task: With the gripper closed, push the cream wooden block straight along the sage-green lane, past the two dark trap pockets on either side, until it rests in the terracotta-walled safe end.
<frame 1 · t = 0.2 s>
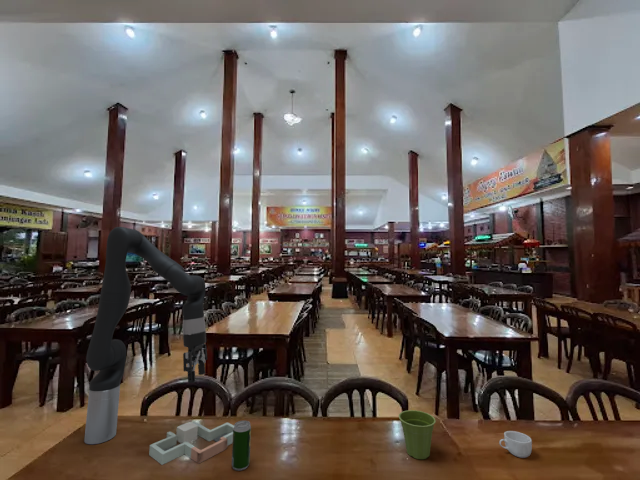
hand: (197, 378, 107), 22 cm above the table, tool pointing down, fingers open, 8 cm apart
cream block: (186, 439, 107), on the table
teacup: (515, 454, 101), on the table
beer can: (240, 466, 93), on the table
plant pot: (417, 454, 101), on the table
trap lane: (196, 445, 104), on the table
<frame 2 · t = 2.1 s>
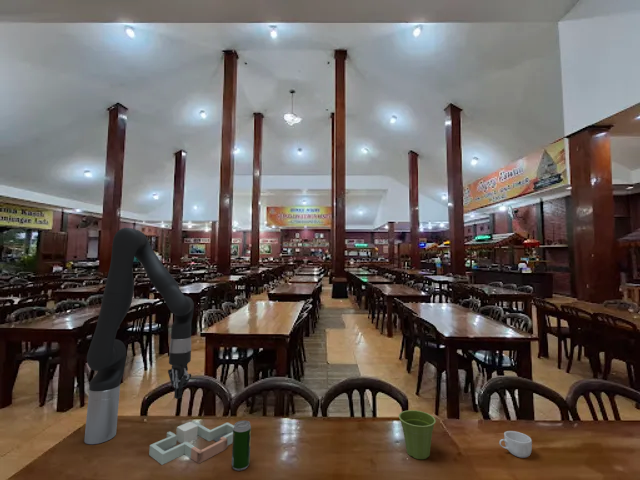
hand: (178, 397, 113), 12 cm above the table, tool pointing down, fingers closed
nothing on the table moved.
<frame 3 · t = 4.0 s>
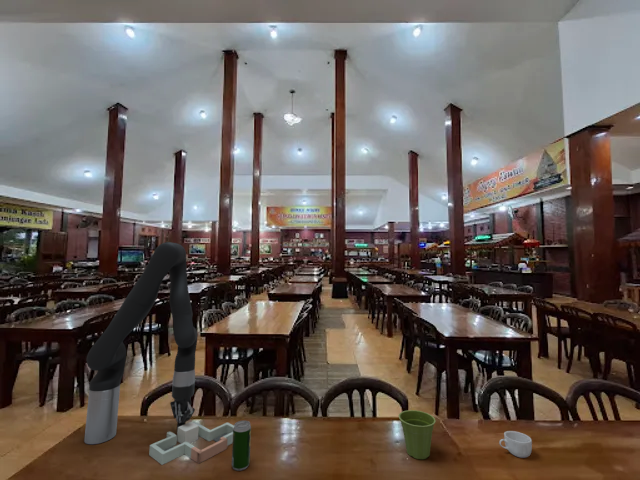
hand: (180, 432, 110), 1 cm above the table, tool pointing down, fingers closed
cream block: (187, 440, 107), on the table, touching gripper
everything else where it was.
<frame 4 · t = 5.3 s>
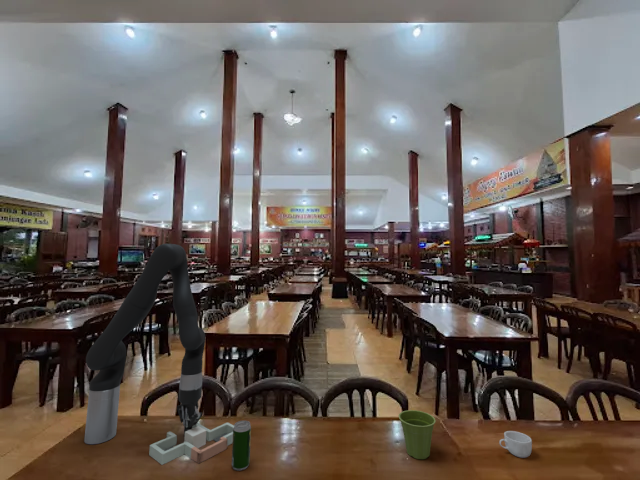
hand: (187, 436, 107), 1 cm above the table, tool pointing down, fingers closed
cream block: (194, 445, 104), on the table, touching gripper
everything else where it was.
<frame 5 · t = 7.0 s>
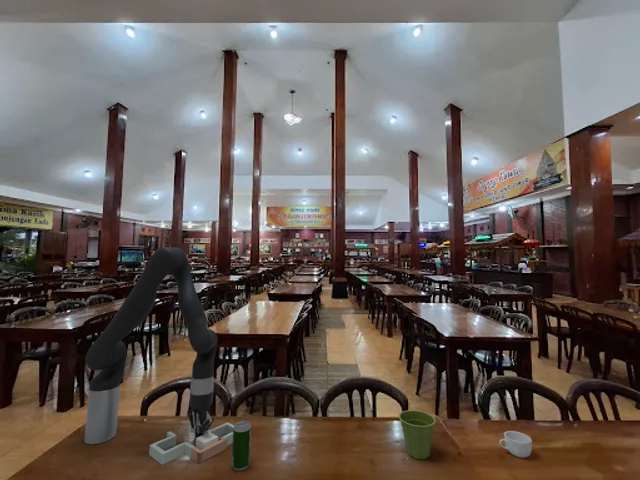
hand: (198, 443, 103), 1 cm above the table, tool pointing down, fingers closed
cream block: (206, 451, 100), on the table, touching gripper, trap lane
everything else where it was.
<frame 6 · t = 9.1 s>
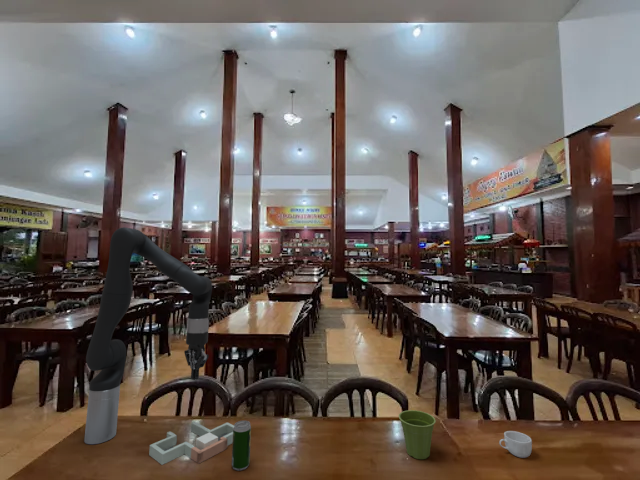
hand: (194, 378, 111), 20 cm above the table, tool pointing down, fingers closed
cream block: (206, 452, 100), on the table
everything else where it was.
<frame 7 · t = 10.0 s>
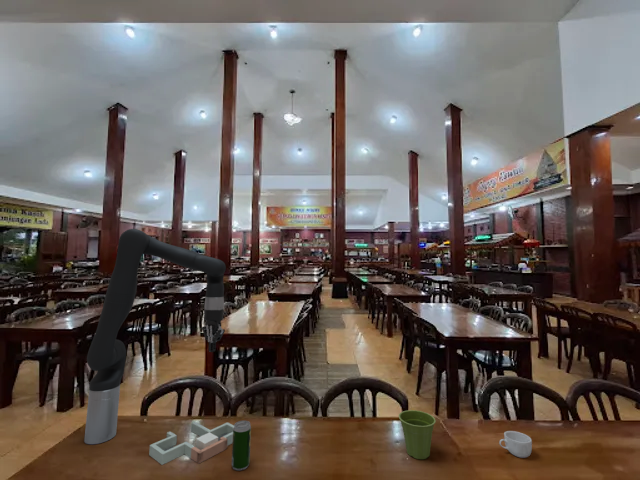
hand: (212, 351, 123), 27 cm above the table, tool pointing down, fingers closed
nothing on the table moved.
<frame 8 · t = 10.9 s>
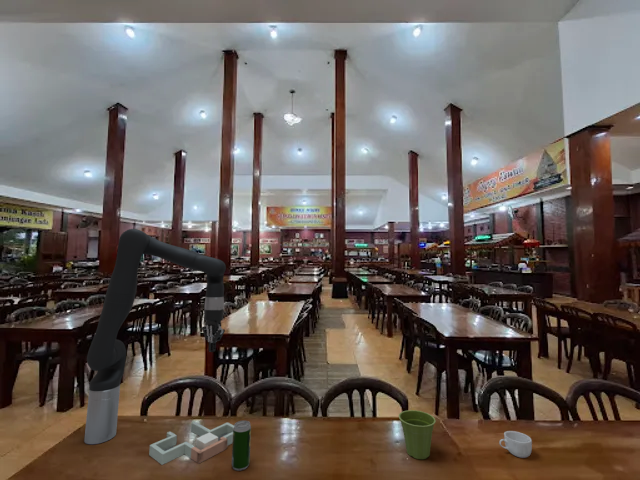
hand: (212, 351, 123), 27 cm above the table, tool pointing down, fingers closed
nothing on the table moved.
at the end: cream block 0.1 cm from the target spot, on the table; cream block tilted 0° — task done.
